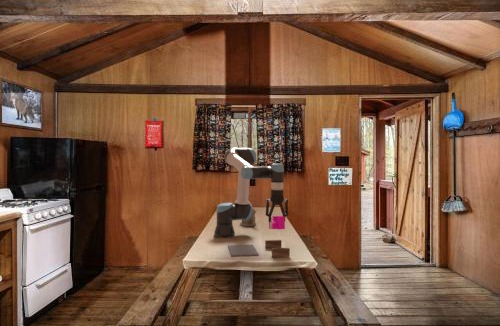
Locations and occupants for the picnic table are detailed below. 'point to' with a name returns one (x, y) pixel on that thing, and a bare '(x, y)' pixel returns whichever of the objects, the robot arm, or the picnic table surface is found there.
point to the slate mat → (242, 250)
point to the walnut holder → (277, 249)
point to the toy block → (278, 222)
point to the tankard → (249, 220)
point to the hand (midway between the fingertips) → (276, 227)
